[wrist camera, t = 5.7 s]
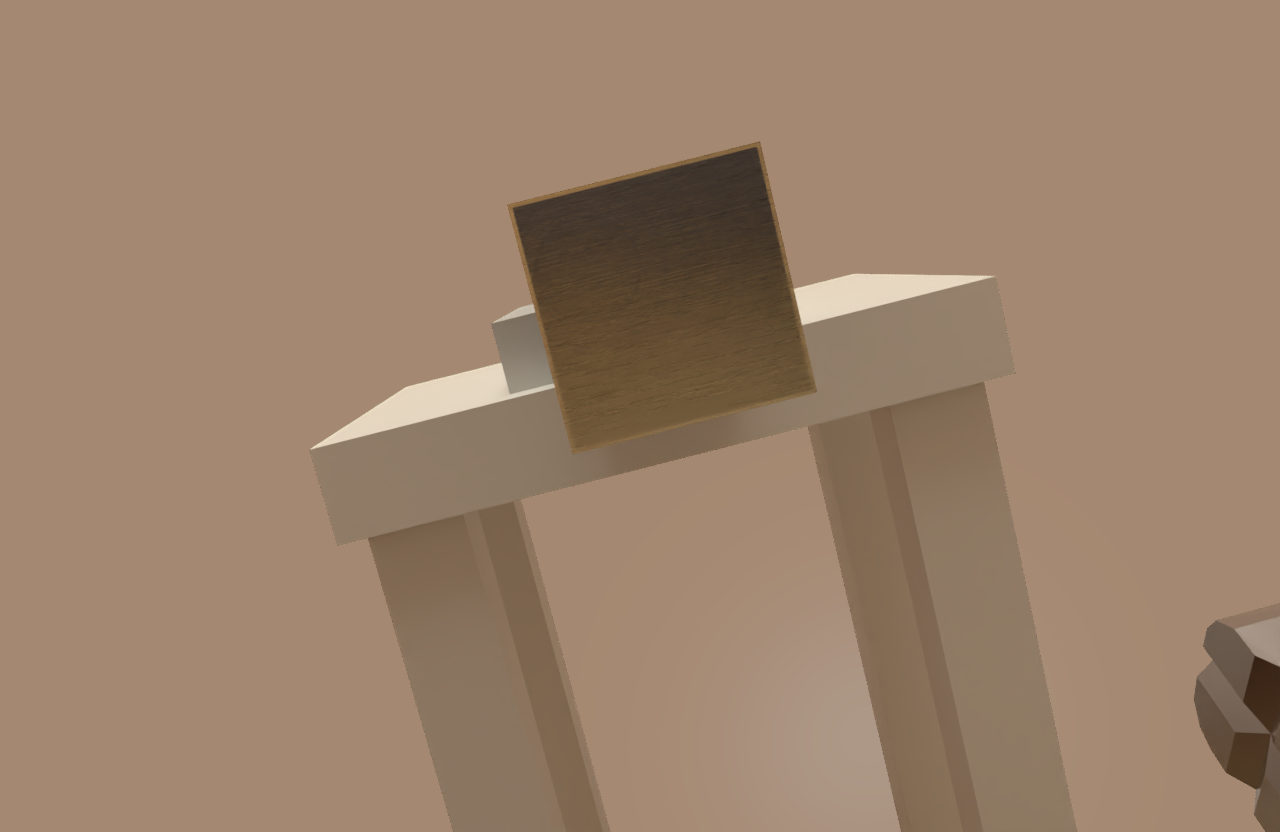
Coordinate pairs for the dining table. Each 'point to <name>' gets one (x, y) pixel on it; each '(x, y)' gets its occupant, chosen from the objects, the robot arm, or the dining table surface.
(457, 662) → the pin stand
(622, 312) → the pin
